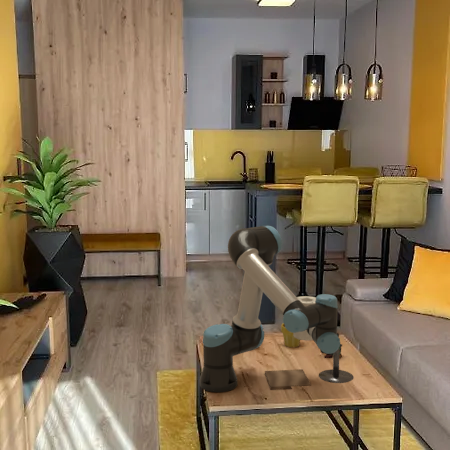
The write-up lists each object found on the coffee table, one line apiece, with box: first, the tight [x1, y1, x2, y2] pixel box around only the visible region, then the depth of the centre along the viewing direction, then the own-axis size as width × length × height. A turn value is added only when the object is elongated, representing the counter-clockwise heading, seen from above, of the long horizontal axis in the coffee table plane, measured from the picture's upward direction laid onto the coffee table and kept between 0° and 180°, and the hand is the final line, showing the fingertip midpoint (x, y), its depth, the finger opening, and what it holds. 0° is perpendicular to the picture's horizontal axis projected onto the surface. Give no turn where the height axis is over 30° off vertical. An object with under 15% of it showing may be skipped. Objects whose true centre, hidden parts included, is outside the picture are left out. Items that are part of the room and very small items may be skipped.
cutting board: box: [264, 368, 312, 391], centre depth 237 cm, size 16×16×1 cm
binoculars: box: [319, 332, 343, 360], centre depth 261 cm, size 9×11×10 cm
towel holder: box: [318, 349, 354, 384], centre depth 238 cm, size 14×14×13 cm
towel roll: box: [293, 295, 317, 342], centre depth 233 cm, size 10×10×15 cm
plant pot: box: [280, 322, 301, 348], centre depth 278 cm, size 10×10×10 cm
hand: (304, 312), depth 237 cm, fingers closed on towel roll, 10 cm apart
